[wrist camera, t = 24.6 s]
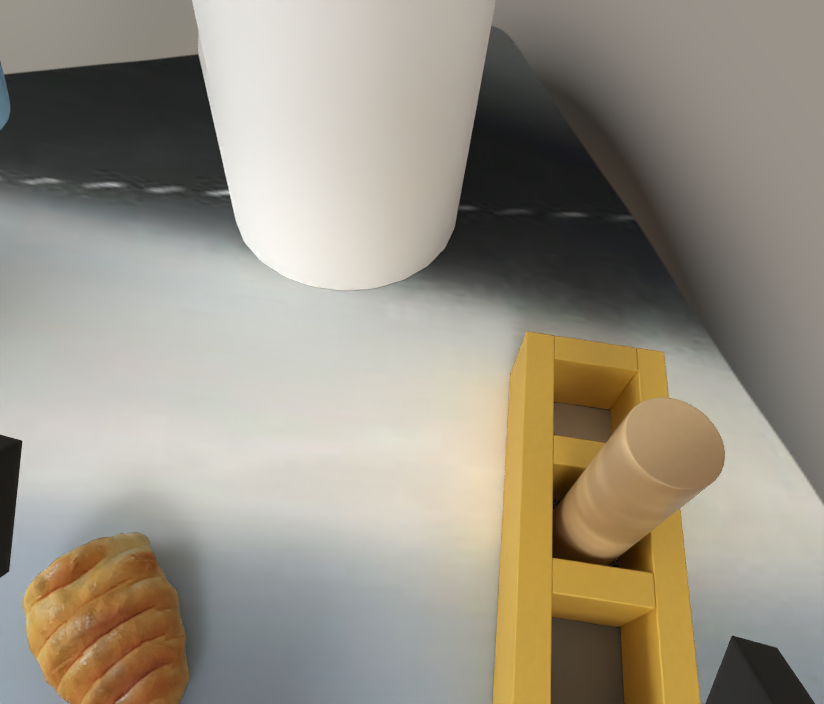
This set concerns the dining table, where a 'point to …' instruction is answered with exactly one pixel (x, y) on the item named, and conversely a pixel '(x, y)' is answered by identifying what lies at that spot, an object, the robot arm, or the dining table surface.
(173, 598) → the pastry
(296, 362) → the dining table surface
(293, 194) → the cylinder
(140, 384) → the dining table surface
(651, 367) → the yellow peg holder
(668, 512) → the peg
